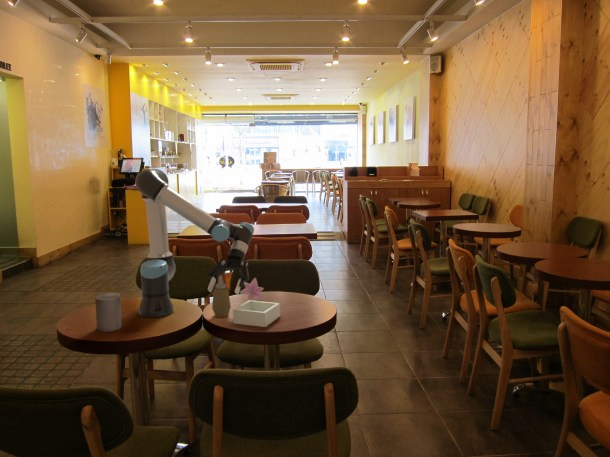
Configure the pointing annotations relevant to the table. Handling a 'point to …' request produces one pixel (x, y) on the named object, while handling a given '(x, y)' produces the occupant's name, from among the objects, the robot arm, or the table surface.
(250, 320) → the bin
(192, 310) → the table surface
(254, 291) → the lily
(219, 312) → the squeeze bottle
